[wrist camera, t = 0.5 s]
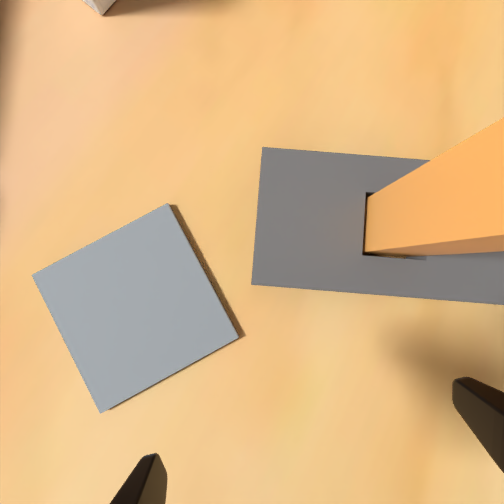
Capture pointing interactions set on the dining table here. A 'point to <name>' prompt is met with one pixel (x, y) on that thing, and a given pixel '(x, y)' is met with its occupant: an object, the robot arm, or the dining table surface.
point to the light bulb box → (99, 5)
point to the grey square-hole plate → (350, 233)
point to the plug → (443, 203)
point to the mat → (134, 307)
